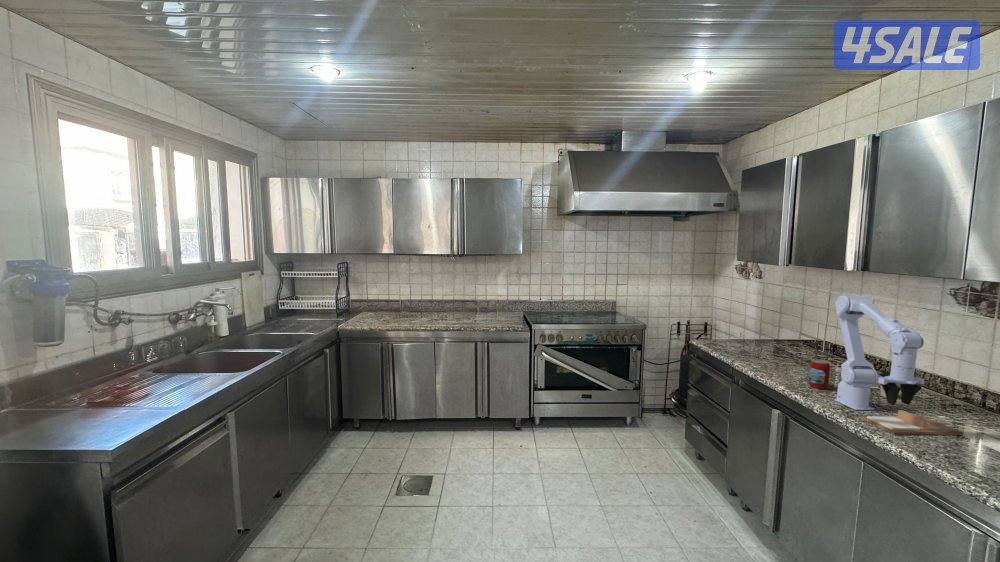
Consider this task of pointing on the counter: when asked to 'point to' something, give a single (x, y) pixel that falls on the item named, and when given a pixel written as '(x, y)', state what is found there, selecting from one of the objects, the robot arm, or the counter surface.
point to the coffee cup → (880, 384)
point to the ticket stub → (916, 420)
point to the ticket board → (908, 426)
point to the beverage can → (819, 374)
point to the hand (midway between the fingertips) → (898, 403)
